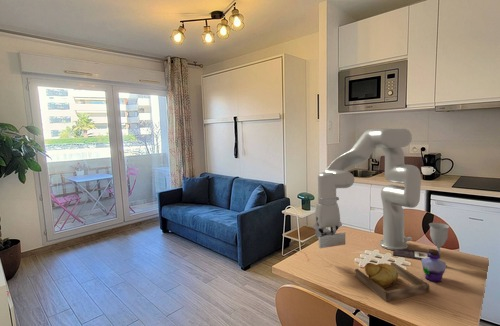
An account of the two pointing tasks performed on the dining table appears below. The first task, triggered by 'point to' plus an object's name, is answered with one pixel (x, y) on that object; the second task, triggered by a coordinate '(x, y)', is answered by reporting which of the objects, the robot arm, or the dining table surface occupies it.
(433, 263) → the potion bottle
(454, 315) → the dining table surface
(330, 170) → the robot arm
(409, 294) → the walnut frame
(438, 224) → the chalice
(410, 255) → the chocolate bar
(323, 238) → the grey t-shaped block
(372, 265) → the bread roll
